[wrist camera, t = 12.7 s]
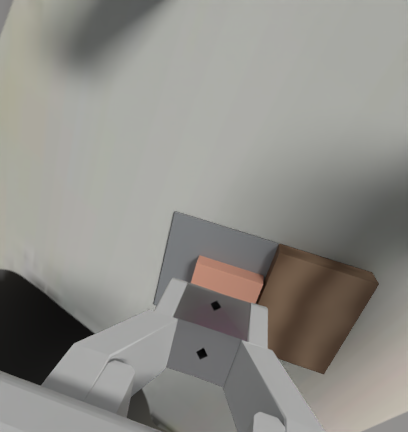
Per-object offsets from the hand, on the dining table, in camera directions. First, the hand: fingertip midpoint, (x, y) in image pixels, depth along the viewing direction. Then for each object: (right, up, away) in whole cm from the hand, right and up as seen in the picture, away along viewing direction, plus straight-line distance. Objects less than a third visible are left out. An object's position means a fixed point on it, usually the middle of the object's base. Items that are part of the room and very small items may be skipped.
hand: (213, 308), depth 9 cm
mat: (+1, -6, +33) cm, 34 cm away
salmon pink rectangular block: (+3, -6, +33) cm, 34 cm away
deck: (+13, -9, +32) cm, 36 cm away
